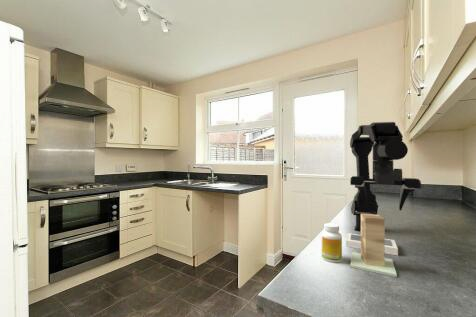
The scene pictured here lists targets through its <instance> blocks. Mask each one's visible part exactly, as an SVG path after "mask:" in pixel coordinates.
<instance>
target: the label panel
mask: <svg viewBox="0 0 476 317" xmlns="http://www.w3.org/2000/svg"><path fill="white" fill-rule="evenodd" d="M396 243H397V242H396V241H395V239H389V238H385V254H386V255H394V256H399V248H398V245H397V244H396ZM345 247H347V248H353V249H357V250H359V249H360V250H361V234H356V233H355V234H354V233H348V232H347V235H346V240H345Z"/></svg>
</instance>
